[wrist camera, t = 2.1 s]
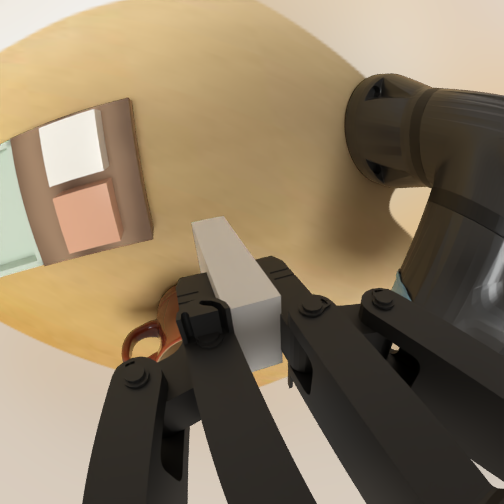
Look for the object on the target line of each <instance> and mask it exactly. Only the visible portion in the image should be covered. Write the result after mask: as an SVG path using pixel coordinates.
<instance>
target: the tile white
mask: <svg viewBox="0 0 504 504" xmlns="http://www.w3.org/2000/svg"><path fill="white" fill-rule="evenodd" d="M39 135H40V141H41V148H42V153H43V159H44V164H45V169H46V174H47V178H48V183H49V187H52V186H55V185H58V184H61V183H64V182H67V181H70V180H73V179H76V178H80V177H83V176H86V175H90V174H93V173H97V172H101V171H104V170H105V169H106V168H108V167H109V162H108V157H107V151H106V145H105V139H104V132H103V125H102V118H101V110H97V109H92V110H89V111H85V112H82V113H79V114H76V115H73V116H70V117H67V118H64V119H62V120H59V121H56V122H53V123H51V124H48V125H46V126H43V127H41V128H39Z"/></svg>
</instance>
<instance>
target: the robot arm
mask: <svg viewBox="0 0 504 504" xmlns="http://www.w3.org/2000/svg"><path fill="white" fill-rule="evenodd" d="M345 133H346V140H347V145H348V148H349V152H350V154H351V157H352V159H353V161H354V163H355V165H356V166H357V168H358V169H359V170H360V171H361V173H362V174H363V175H364V176H366V177H367V178H368V179H370V180H371V181H373V182H376V183H378V184H381V185H384V186H386V187H391V188H407V187H429V188H432V190H431V193H430V196H429V199H428V202H427V204H426V207H425V210H424V213H423V215H422V218H421V221H420V223H419V226H418V229H417V231H416V233H415V236H414V238H413V241H412V243H411V246H410V248H409V250H408V253H407V255H406V257H405V260H404V262H403V264H402V266H401V268H400V269H399V270H398V271H397V274H396V280H395V282H394V285H393V287H392V289H391V290H389V289H383V288H376V289H371V290H368V291H366V292H365V293H364V294H363V295H362V299H361V304H354V305H344V306H336V305H335V304H334V303H333V302H332V301H331V300H329V299H328V298H326V297H323V296H320V295H312V294H311V293H310V291H309V290H308V289H307V288H306V287H305V286H304V285H303V283H302V282H301V281H300V280H299V279H298V278H297V277H296V276H295V275H294V273H293V272H292V271H291V270H290V269H289V268H288V267H287V265H286V264H285V263H284V262H283V261H282V260H280V259H278V258H275V257H273V256H269V257H265V258H260V259H256V260H255V259H254V258H253V256H252V255H251V253H250V252H249V251H248V249H247V248H246V246H245V245H244V244H243V242H242V241H241V240H240V238H239V237H238V235H237V234H236V233H235V231H234V230H233V228H232V227H231V226H230V224H229V223H228V221H227V220H226V219H225V217H224V216H220V217H215V218H210V219H205V220H200V221H196V222H191V224H192V229H193V235H194V240H195V245H196V251H197V256H198V261H199V266H200V271H201V273H200V274H196V275H192V276H187V277H183V278H180V279H179V281H178V283H177V285H176V293H177V299H178V305H179V311H178V312H177V315H176V323H177V326H178V329H179V332H180V335H181V338H182V341H183V342H182V344H181V346H180V347H179V349H178V350H177V351H176V352H175V353H173V354H172V355H170V356H169V357H167V358H165V359H163V360H161V361H159V362H156V361H154V360H153V359H151V358H147V357H135V358H131V359H129V360H127V361H125V362H123V363H122V364H121V365H120V366H118V367H117V368H116V370H115V372H114V374H113V376H112V379H111V382H110V386H109V388H108V392H107V396H106V399H105V402H104V406H103V409H102V413H101V417H100V421H99V424H98V429H97V432H96V436H95V441H94V445H93V449H92V454H91V458H90V463H89V468H88V473H87V479H86V484H85V490H84V496H83V503H82V504H187V503H188V502H187V500H188V455H189V431H190V426H191V425H193V424H195V423H196V422H198V421H200V420H202V424H203V427H204V431H205V435H206V438H207V442H208V445H209V448H210V452H211V454H212V458H213V461H214V465H215V467H216V471H217V474H218V477H219V480H220V483H221V486H222V489H223V491H224V494H225V497H226V500H227V502H228V504H317V503H316V501H315V499H314V498H313V496H312V494H311V492H310V490H309V488H308V487H307V485H306V483H305V481H304V479H303V477H302V475H301V473H300V471H299V469H298V468H297V466H296V464H295V462H294V460H293V458H292V456H291V454H290V452H289V450H288V448H287V446H286V444H285V442H284V440H283V438H282V436H281V434H280V432H279V430H278V428H277V426H276V423H275V422H274V419H273V417H272V415H271V413H270V411H269V409H268V407H267V404H266V402H265V400H264V398H263V396H262V394H261V392H260V389H259V387H258V385H257V383H256V381H255V378H254V376H253V374H252V372H254V371H257V370H260V369H264V368H267V367H270V366H273V365H276V364H279V363H282V352H283V354H284V355H285V357H286V359H287V360H288V385H289V388H292V386H293V382H294V383H295V385H296V386H297V389H298V390H299V392H300V394H301V396H302V397H303V399H304V401H305V403H306V404H307V406H308V408H309V410H310V411H311V413H312V414H313V416H314V418H315V420H316V421H317V423H318V425H319V427H320V428H321V430H322V432H323V433H324V435H325V437H326V438H327V440H328V442H329V443H330V445H331V447H332V448H333V450H334V452H335V453H336V455H337V456H338V458H339V460H340V462H341V463H342V465H343V467H344V468H345V470H346V471H347V473H348V475H349V476H350V478H351V479H352V481H353V483H354V484H355V486H356V487H357V489H358V491H359V492H360V494H361V496H362V497H363V499H364V500H365V502H366V504H504V489H498V488H496V487H493V486H492V485H491V484H490V483H489V482H488V480H487V479H486V478H485V477H484V475H483V474H482V473H481V472H480V470H479V469H478V468H477V467H476V465H475V464H474V463H473V462H472V461H471V459H472V460H473V461H474V462H476V463H477V464H479V465H480V466H482V467H483V468H484V469H486V470H487V471H489V472H490V473H492V474H493V475H495V476H496V477H498V478H499V479H501V480H502V481H504V96H503V95H497V94H491V93H484V92H477V91H468V90H457V89H443V88H432V87H430V86H427V85H425V84H423V83H420V82H418V81H415V80H413V79H410V78H407V77H405V76H402V75H398V74H377V75H373V76H371V77H368V78H366V79H365V80H363V81H362V82H361V83H360V84H359V85H358V86H357V88H356V89H355V90H354V92H353V94H352V96H351V98H350V100H349V103H348V107H347V111H346V118H345ZM392 343H394V344H396V345H397V346H398V347H400V348H399V350H393V349H391V346H392Z"/></svg>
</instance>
